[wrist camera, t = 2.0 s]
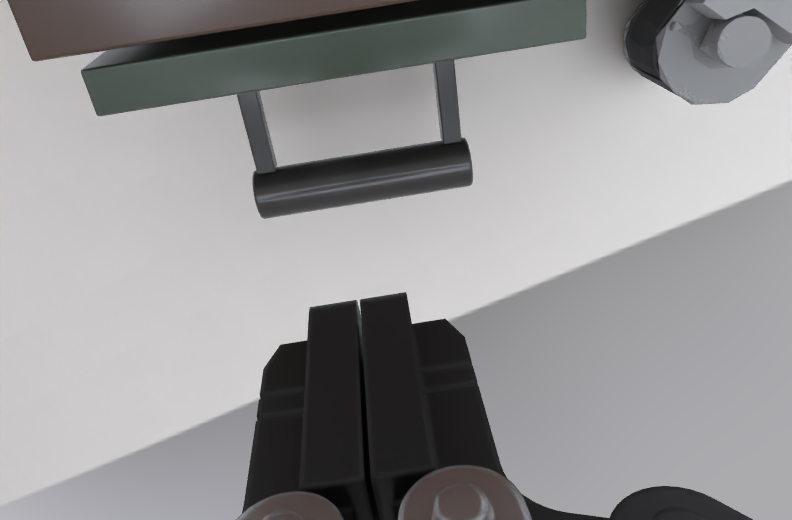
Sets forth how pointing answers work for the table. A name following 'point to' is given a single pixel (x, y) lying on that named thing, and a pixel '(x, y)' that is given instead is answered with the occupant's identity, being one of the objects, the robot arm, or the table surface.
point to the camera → (708, 45)
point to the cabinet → (153, 20)
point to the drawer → (329, 59)
